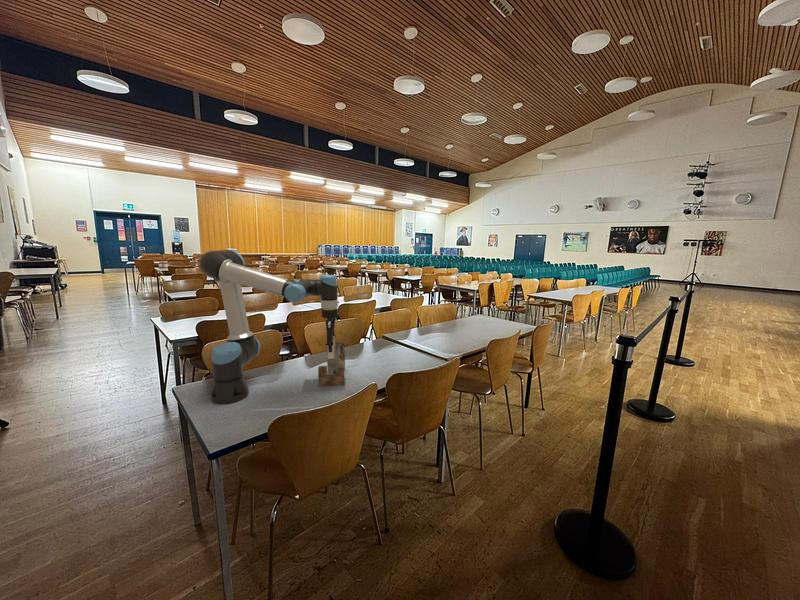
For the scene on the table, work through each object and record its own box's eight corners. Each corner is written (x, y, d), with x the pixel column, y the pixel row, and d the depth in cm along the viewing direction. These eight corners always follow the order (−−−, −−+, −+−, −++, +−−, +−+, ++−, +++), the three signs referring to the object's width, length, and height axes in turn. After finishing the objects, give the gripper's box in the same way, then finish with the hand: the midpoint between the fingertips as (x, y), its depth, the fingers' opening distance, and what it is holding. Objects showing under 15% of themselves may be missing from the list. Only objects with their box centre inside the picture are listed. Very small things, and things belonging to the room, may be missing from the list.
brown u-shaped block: (318, 386, 158) (318, 368, 156) (319, 383, 161) (318, 366, 159) (344, 385, 160) (344, 367, 158) (344, 382, 163) (344, 364, 161)
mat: (300, 394, 152) (300, 392, 152) (305, 381, 165) (305, 379, 165) (345, 392, 155) (345, 390, 154) (345, 379, 168) (345, 377, 168)
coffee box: (334, 370, 180) (333, 341, 178) (345, 371, 179) (344, 342, 176) (327, 376, 172) (326, 347, 169) (339, 378, 170) (338, 347, 167)
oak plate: (334, 360, 153) (333, 341, 152) (327, 360, 153) (326, 341, 151) (335, 353, 163) (334, 335, 161) (329, 353, 163) (328, 335, 161)
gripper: (336, 313, 143) (338, 362, 147) (339, 303, 165) (340, 346, 169) (319, 314, 142) (321, 363, 146) (323, 304, 164) (325, 347, 168)
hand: (331, 354), depth 158 cm, fingers closed on oak plate, 10 cm apart
